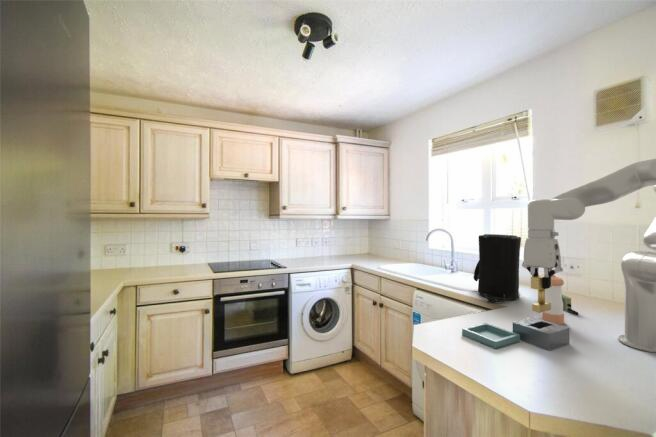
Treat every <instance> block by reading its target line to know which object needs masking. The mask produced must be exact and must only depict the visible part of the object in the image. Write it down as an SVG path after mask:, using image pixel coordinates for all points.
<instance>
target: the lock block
mask: <svg viewBox="0 0 656 437" xmlns="http://www.w3.org/2000/svg"><path fill="white" fill-rule="evenodd" d="M512 332H513V333H516V334H519V335H520V342H521V341H522V342H523V343H527V344H529V345H532V346H534V347H537V348H540V349H543V350H546V351H548V350H549V351H548V352H550V351H554V350H556V349H559V348H562V347H564V346H568V345H570V327H569V326H565V325H562V324H554V323H551V322H547V321H544V320H543V319H540V318H536V317H534V316H533V317H528V318H524V319H521V320H515V321H512ZM553 349H554V350H553Z"/></svg>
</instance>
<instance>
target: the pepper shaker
mask: <svg viewBox="0 0 656 437" xmlns="http://www.w3.org/2000/svg"><path fill="white" fill-rule="evenodd" d="M564 284H565V282H564V280H563V278H560V277H558V276H556V275H555V274H554V275H553V276H552V287H550V288H548V289H545V302H549V303H551V310H548V311H545V312H541V314H542V315H541V317H542V319H541V320H544V321H547V322H551V323H554V324H558V325H563V324H565V314H564V310H563V302H562V296H561V294H562V286H564Z"/></svg>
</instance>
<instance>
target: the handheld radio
mask: <svg viewBox="0 0 656 437" xmlns="http://www.w3.org/2000/svg"><path fill="white" fill-rule="evenodd" d="M561 296H562V302H563V312H567V313H571V314H574V315H576V316H578V315H579V312H577V311H576V310H574V309H572V297H569V296H567V295H564V294H562V293H561Z"/></svg>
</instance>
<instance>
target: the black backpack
mask: <svg viewBox="0 0 656 437" xmlns="http://www.w3.org/2000/svg"><path fill="white" fill-rule="evenodd" d="M521 242H522V237H521V236H518V235H515V234H514V235H513V234H494V233H492V234H491V233H484V234H481V235H480V234H479V235H478V256H479V257H478V259H479V260H478V261H477V262H476V266H475V268H474V272H473V280H474V281H475V282H478V286H477V292H478V293H479V295H480V296H482V297H483V298H485V299H487V303H504V302H507V301H515V300H518V299H519V298H520V296H519V294H520V291H519V290H520V283H519V282H520V253H521Z"/></svg>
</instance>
